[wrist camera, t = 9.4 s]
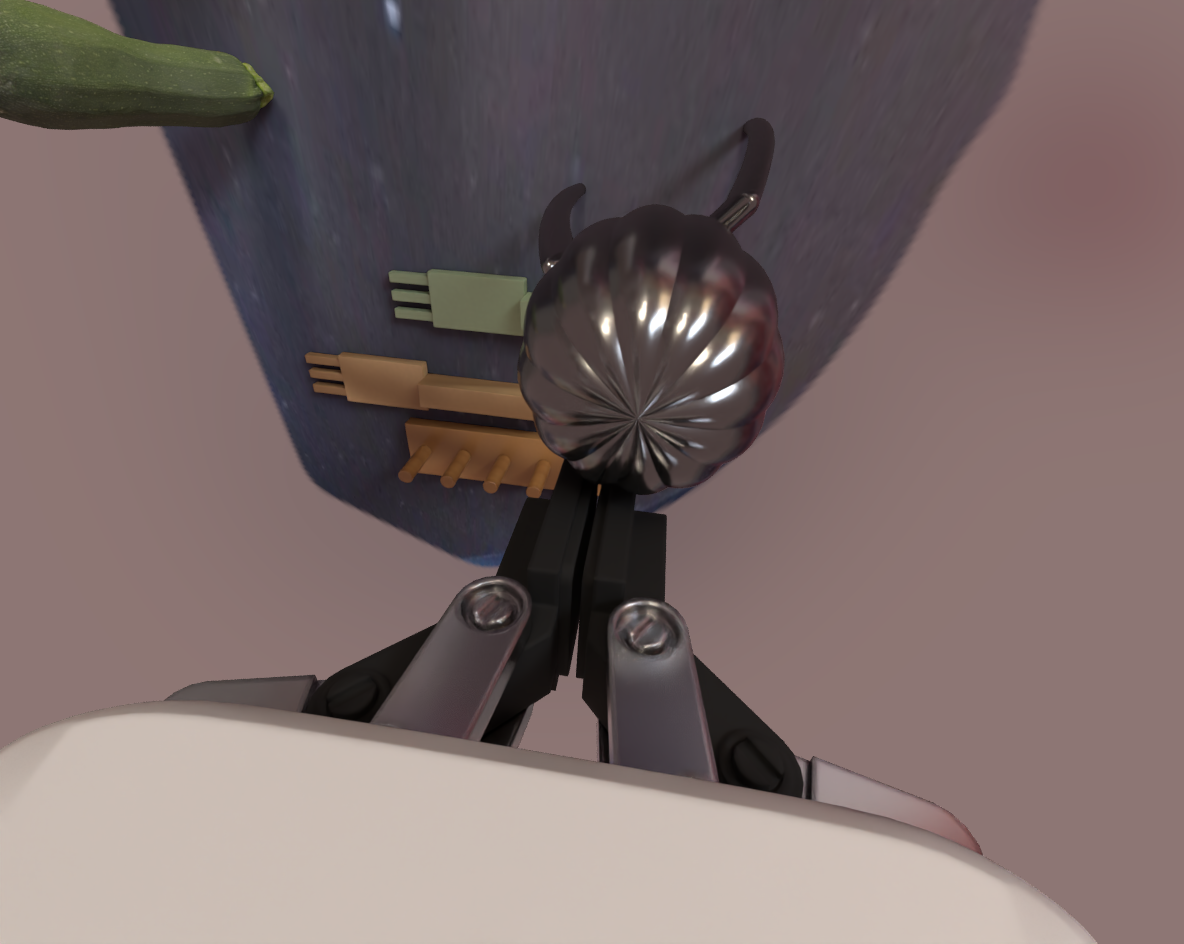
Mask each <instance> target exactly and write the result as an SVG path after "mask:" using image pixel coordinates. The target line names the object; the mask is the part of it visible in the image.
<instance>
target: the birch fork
mask: <svg viewBox="0 0 1184 944" xmlns="http://www.w3.org/2000/svg"><path fill="white" fill-rule="evenodd" d="M305 358H306V362H307V363H313V364H321V365H330V366H338V367H340V369H341V370H334V369H325V368H317V367H313V368H311V369H310V370H309V373H310V376H311V378H319V379H328V380H336V381H343V382H344V385H343V384H335V383H326V382H318V381H317V382H316V383H314V384H313V388H314V391H315V392H320V393H328V394H336V395H344V396H347V399H348V401H353V402H361V403H370V404H378V405H386V406H394V407H402V408H410V409H418V410H427V411H428V410H429V409H430V408H433V409H441V410H450V411H458V412H466V413H474V414H482V415H491V416H499V417H507V418H515V419H523V420H532V421H534V419H533V412H532V411H531V410H530V408H529V407H528V405H527V404H526V402H525V400H524V398H523V396H522V393H521V391H520V387H519V384H516V383H507V382H499V381H490V380H482V379H473V378H465V377H456V376H447V375H439V374H430V373H428V370H427V363H426V361H418V360H409V359H400V358H392V357H383V356H374V355H366V354H357V353H348V352H343V353H341V354H340V355H330V354H322V353H313V352H309V353H307V354H306V355H305Z"/></svg>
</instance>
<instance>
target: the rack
mask: <svg viewBox="0 0 1184 944" xmlns="http://www.w3.org/2000/svg"><path fill="white" fill-rule="evenodd" d="M405 428H406V434H407V440H408V446H409V451H410V457H411V458H410V459H409V460H408V461H407V463H406V464H405V465H404V466H403V468H402V469H401V470H400V471H399V473H398V477H399V478H400V480H401V481H403V482H406V483H409V482H411V481H412V480H413V479H414V477H415V476H416V475H417V473H424V474H432V475H440V476H442V477H441V479H440V482H441V484H442V485H443V486H444V487H447V488H452V487H453V486H454V485H455V483H456V482H457V480H458V479H459V478H464V479H472V480H480V481H485V482H484V483H483V488H484V490H485V491H486V492H488V493H495V492H496V491H497V490H498V488H499V486H500V484H501V483H503V484H511V485H519V486H527V489H526V494H527V496H528V497H533V498H539V497H540V495H541V493H542V490H543V489H551V490H554V488H555V485H556V482H557V479H558V476H559V473H560V470H561V467H562V464H563V461H564V459H563V458H561V457H559V456H558V455H556V454H554V453H553V452H552V451H550V450H549V449H548V448H547V447H546V445H545V444H544V443H543V442H542V440H541V439H540V437H539V435H538V433H537V432H531V431H522V430H514V429H505V428H497V427H488V426H480V425H471V424H463V423H454V422H446V421H437V420H429V419H420V418H412V417H411V418H409V420H408V421H407V422H406V423H405ZM600 489H601V485H599V484H598V493H597V495H598V496H599V493H600Z"/></svg>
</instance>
